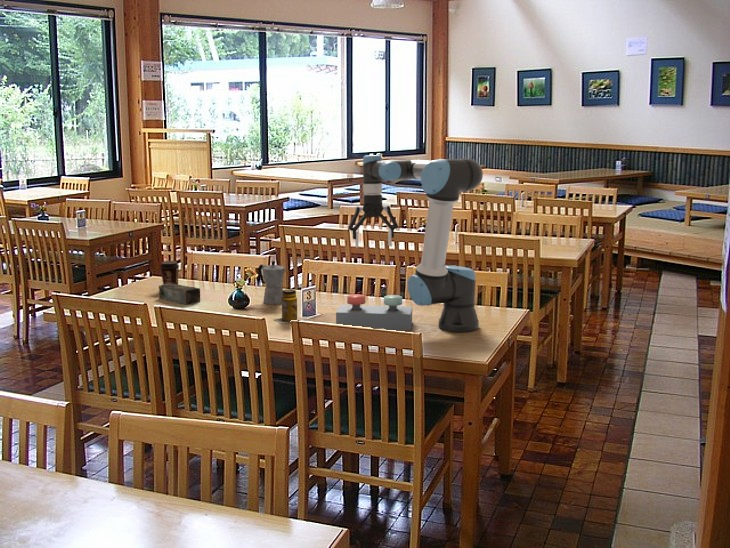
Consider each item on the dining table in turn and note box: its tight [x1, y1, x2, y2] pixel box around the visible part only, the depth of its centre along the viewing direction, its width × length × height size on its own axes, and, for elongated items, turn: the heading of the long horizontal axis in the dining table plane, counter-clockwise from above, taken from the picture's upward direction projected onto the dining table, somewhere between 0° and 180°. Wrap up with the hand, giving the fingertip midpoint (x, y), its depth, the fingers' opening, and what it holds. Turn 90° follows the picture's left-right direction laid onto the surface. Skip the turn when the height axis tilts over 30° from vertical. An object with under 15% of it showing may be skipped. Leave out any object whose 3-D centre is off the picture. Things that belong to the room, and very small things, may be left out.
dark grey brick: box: [158, 283, 201, 305], centre depth 353 cm, size 8×19×7 cm, turn 51°
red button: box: [346, 293, 367, 310], centre depth 312 cm, size 7×7×8 cm
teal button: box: [383, 294, 403, 311], centre depth 311 cm, size 7×7×8 cm
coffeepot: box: [257, 260, 286, 306], centre depth 349 cm, size 15×9×18 cm, turn 54°
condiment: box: [273, 288, 300, 324], centre depth 319 cm, size 7×8×12 cm
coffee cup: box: [159, 260, 180, 285], centre depth 372 cm, size 9×8×13 cm
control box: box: [335, 304, 413, 331], centre depth 313 cm, size 28×12×6 cm, turn 84°
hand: (373, 246), depth 331 cm, fingers open, 13 cm apart
